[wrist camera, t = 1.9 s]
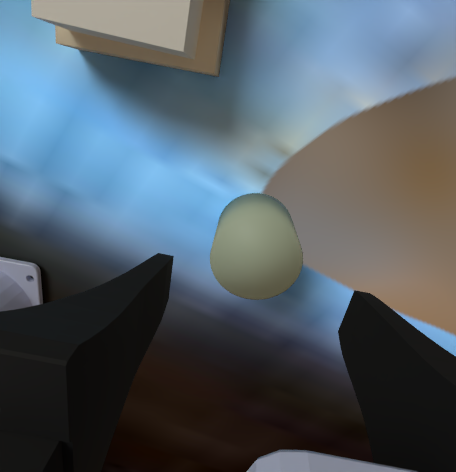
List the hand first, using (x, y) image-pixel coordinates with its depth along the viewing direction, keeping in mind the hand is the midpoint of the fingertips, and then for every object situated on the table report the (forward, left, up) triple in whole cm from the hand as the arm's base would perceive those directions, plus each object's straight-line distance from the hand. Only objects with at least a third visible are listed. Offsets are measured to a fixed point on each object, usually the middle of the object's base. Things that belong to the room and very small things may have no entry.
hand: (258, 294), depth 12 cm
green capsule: (0, 0, -7) cm, 7 cm away
